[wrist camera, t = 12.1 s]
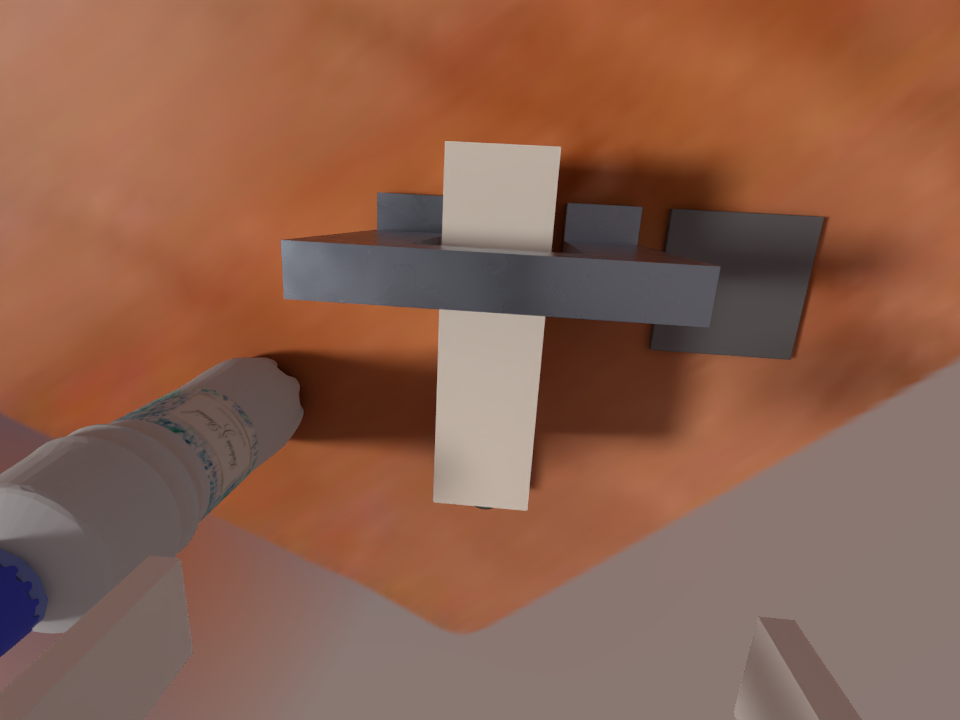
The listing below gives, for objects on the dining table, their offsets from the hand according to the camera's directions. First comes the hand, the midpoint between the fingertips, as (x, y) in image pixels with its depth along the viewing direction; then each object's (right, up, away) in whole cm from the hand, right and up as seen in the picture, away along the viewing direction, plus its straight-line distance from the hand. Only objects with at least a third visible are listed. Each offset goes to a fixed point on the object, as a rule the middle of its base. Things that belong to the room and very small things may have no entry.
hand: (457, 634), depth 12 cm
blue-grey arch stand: (+2, +12, +18) cm, 22 cm away
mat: (+15, +10, +17) cm, 25 cm away
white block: (+2, +8, +19) cm, 21 cm away
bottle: (-13, +4, +22) cm, 26 cm away
